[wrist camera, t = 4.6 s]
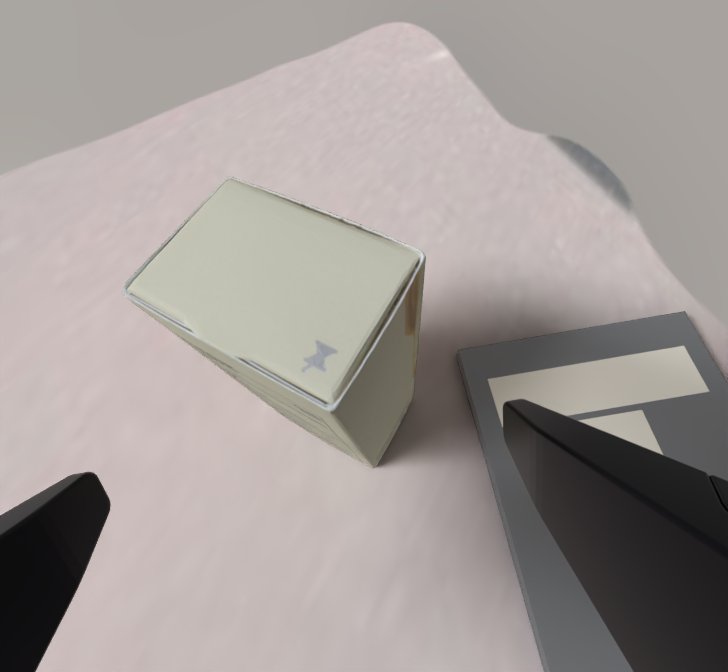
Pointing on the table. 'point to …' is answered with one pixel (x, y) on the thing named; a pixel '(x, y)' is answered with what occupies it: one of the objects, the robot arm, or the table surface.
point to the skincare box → (295, 310)
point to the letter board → (605, 412)
